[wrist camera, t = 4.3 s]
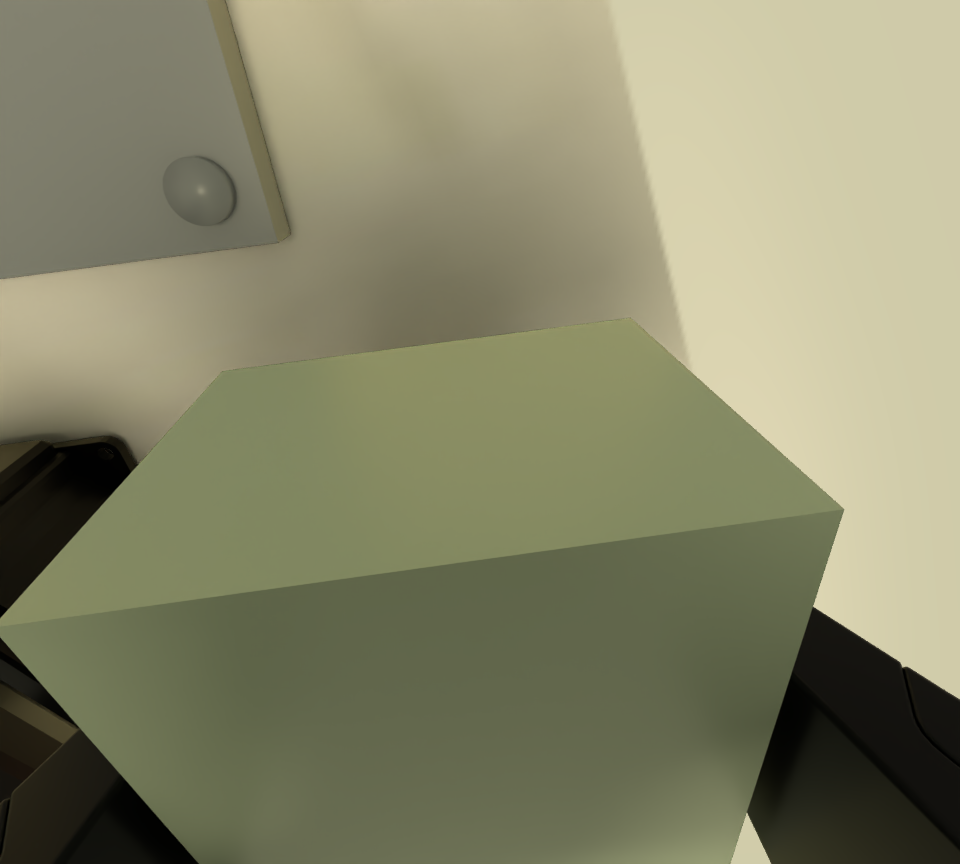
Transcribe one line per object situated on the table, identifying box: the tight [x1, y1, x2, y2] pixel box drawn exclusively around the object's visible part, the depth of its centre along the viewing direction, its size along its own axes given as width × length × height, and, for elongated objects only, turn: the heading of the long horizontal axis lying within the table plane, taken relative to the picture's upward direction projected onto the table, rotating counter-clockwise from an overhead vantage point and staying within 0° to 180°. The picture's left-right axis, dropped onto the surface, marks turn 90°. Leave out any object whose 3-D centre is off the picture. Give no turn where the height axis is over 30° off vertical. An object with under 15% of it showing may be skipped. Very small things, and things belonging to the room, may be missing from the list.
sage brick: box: [0, 318, 844, 864], centre depth 7 cm, size 6×6×4 cm
